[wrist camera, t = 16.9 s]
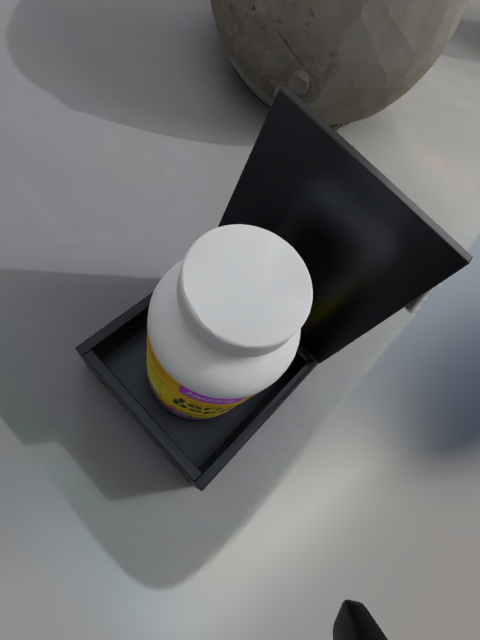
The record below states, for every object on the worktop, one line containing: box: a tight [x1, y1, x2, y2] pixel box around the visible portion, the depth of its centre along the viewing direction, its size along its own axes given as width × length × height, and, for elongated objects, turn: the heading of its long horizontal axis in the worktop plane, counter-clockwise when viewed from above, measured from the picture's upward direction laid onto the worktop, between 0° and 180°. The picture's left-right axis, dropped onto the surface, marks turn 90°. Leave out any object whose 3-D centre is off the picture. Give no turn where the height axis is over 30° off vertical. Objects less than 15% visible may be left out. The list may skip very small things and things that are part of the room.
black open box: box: [76, 292, 318, 491], centre depth 22 cm, size 10×10×4 cm
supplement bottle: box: [146, 224, 313, 420], centre depth 18 cm, size 7×7×13 cm
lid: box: [218, 87, 473, 363], centre depth 18 cm, size 11×10×1 cm
